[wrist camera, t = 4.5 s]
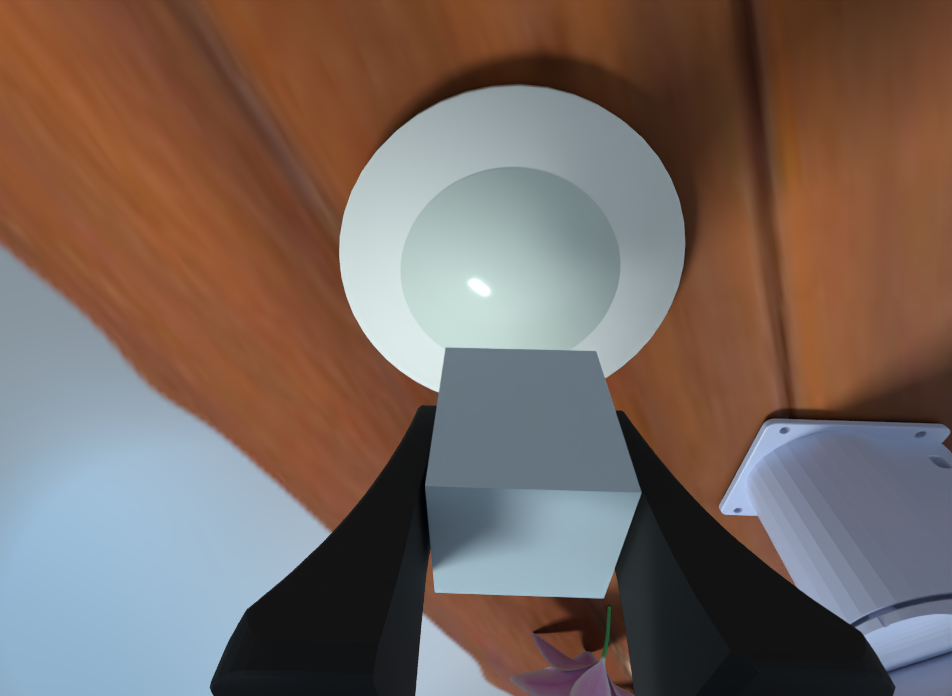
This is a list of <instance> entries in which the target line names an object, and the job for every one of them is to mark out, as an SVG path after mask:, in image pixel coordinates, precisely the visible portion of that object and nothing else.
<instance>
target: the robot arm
mask: <svg viewBox="0 0 952 696" xmlns="http://www.w3.org/2000/svg"><path fill="white" fill-rule="evenodd" d="M436 408H437V406H424V405H422V406H420V407H419V408H418V410H417V412H416V414H415V417H414V419H413V421H412V423H411V425H410V427H409V428H408V430H407V432H406V434H405V436H404V437H403V439H402V441H401V443H400V444H399V446H398V447H397V449H396V451H395V452H394V454H393V455H392V457H391V459H390V460H389V462H388V463H387V465H386V466H385V468H384V469H383V471H382V472H381V473H380V475H379V476H378V478H377V479H376V480H375V482H374V483H373V485H372V486H371V487H370V489H369V490H368V491H367V493H366V494H365V495H364V496H363V498H362V499H361V500H360V501H359V503H358V504H357V505H356V506H355V507H354V509H353V510H352V511H351V512H350V513H349V515H348V516H347V517H346V518H345V519H344V520H343V521H342V522H341V523H340V524H339V526H338V527H337V528H336V529H335V530H334V531H333V532H332V533H331V534H330V535H329V536H328V538H326V540H325V541H324V542H323V543H322V544H321V545H320V546H319V547H318V548H316V550H314V551H313V552H312V553H311V554H310V555H309V556H308V557H307V558H306V559H305V560H304V561H303V562H302V563H301V564H300V565H299V566H297V568H295V569H294V570H293V571H292V572H291V573H290V574H289V575H288V576H287V577H285V578H284V579H283V580H282V581H281V582H280V583H278V584H277V585H276V586H275V587H274V588H272V589H271V590H270V591H269V592H267V593H266V594H265V595H264V596H263V597H261V598H260V599H259V600H258V601H257V602H256V603H254V604H253V605H252V606H251V607H249V608H248V609H247V610H246V612H245V613H244V615H243V617H242V618H241V620H240V622H239V623H238V625H237V627H236V629H235V631H234V633H233V635H232V636H231V638H230V640H229V642H228V644H227V646H226V648H225V650H224V653H223V655H222V657H221V660H220V662H219V664H218V667H217V670H216V672H215V674H214V676H213V679H212V681H211V685H210V689H211V692H212V694H213V695H214V696H415V691H416V680H417V667H418V657H419V644H420V634H421V622H422V613H423V602H424V592H425V582H426V573H427V566H428V560H429V554H430V549H431V545H430V535H429V524H428V513H427V503H426V492H425V483H426V476H427V469H428V462H429V456H430V449H431V442H432V435H433V429H434V422H435V415H436ZM616 414H617V417H618V421H619V424H620V427H621V430H622V433H623V436H624V439H625V442H626V446H627V449H628V452H629V455H630V458H631V461H632V464H633V467H634V471H635V474H636V477H637V480H638V483H639V486H640V489H641V492H642V493H641V496H640V499H639V501H638V504H637V507H636V510H635V513H634V515H633V518H632V521H631V524H630V527H629V529H628V532H627V535H626V538H625V541H624V543H623V546H622V549H621V552H620V555H619V557H618V560H617V563H616V566H615V572H616V576H617V581H618V586H619V592H620V598H621V604H622V610H623V616H624V623H625V629H626V636H627V643H628V649H629V656H630V664H631V671H632V679H633V686H634V694H635V696H952V452H951V451H949V450H948V449H947V448H946V447H945V446H944V445H943V444H942V443H943V441H944V440H945V439H946V438H947V437H948V436H949V434H950V430H949V429H948V428H947V427H946V426H945V425H944V424H930V423H899V422H867V421H835V420H804V419H770V420H767V421H766V422H765V423H764V424H763V425H762V427H761V429H760V430H759V432H758V434H757V436H756V438H755V440H754V442H753V443H752V445H751V447H750V449H749V451H748V453H747V455H746V456H745V458H744V460H743V462H742V464H741V466H740V468H739V469H738V471H737V473H736V475H735V477H734V479H733V481H732V482H731V484H730V486H729V488H728V490H727V492H726V494H725V495H724V497H723V499H722V501H721V503H720V505H719V508H720V510H721V512H722V513H723V514H727V515H751V516H758V517H759V519H760V520H761V522H762V524H763V526H764V528H765V530H766V531H767V533H768V535H769V537H770V539H771V541H772V542H773V544H774V546H775V548H776V550H777V552H778V554H779V555H780V557H781V559H782V561H783V563H784V565H785V566H786V568H787V570H788V572H789V574H790V576H791V577H792V579H793V581H794V583H795V585H796V587H795V586H794V585H793V584H791V583H790V582H789V581H787V580H786V579H785V578H783V577H782V576H781V575H779V574H778V573H777V572H776V571H774V570H773V569H772V568H770V567H769V566H768V565H767V564H765V563H764V562H763V561H762V560H761V559H759V558H758V557H757V556H756V555H755V554H753V553H752V552H751V551H750V550H749V549H747V548H746V547H745V546H744V545H743V544H741V543H740V542H739V541H738V540H737V539H736V538H734V537H733V536H732V535H731V534H730V533H729V532H728V531H727V530H725V529H724V528H723V527H722V526H721V525H720V524H719V523H718V522H717V521H716V520H715V519H714V518H713V517H712V516H711V515H710V514H709V513H708V512H707V511H706V510H705V509H704V508H703V507H702V506H701V505H700V504H699V503H698V502H697V501H696V500H695V499H694V498H693V497H692V496H691V495H690V494H689V492H688V491H687V490H686V489H685V488H684V487H683V486H682V485H681V484H680V483H679V481H678V480H677V479H676V478H675V477H674V476H673V475H672V473H671V472H670V471H669V470H668V469H667V467H666V466H665V465H664V464H663V463H662V461H661V460H660V459H659V458H658V457H657V455H656V454H655V453H654V451H653V450H652V449H651V448H650V446H649V445H648V444H647V443H646V441H645V440H644V439H643V437H642V436H641V435H640V433H639V432H638V431H637V429H636V428H635V427H634V425H633V424H632V423H631V421H630V420H629V419H628V417H627V416H626V414H625V413H624V412H623V411H616Z"/></svg>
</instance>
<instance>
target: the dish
mask: <svg viewBox="0 0 952 696" xmlns="http://www.w3.org/2000/svg"><path fill="white" fill-rule="evenodd" d="M684 254H685V229H684V219H683V215H682V210H681V205H680V201H679V198H678V195H677V193H676V190H675V187H674V185H673V182H672V180H671V177H670V176H669V174H668V172H667V171H666V169H665V167H664V165H663V164H662V162H661V160H660V159H659V157H658V156H657V155H656V153H655V152H654V151H653V150H652V149H651V147H650V146H649V145H648V144H647V143H646V141H645V140H644V139H643V138H642V137H641V136H640V135H639V134H638V133H636V132H635V131H634V130H633V129H632V128H631V127H630V126H628V125H627V124H626V123H625V122H624V121H623V120H621V119H620V118H618V117H617V116H615V115H614V114H612V113H611V112H609V111H607V110H606V109H604V108H603V107H601V106H599V105H598V104H596V103H594V102H592V101H590V100H587V99H585V98H583V97H580V96H578V95H576V94H573V93H570V92H566V91H563V90H559V89H555V88H551V87H547V86H537V85H527V84H508V85H492V86H487V87H482V88H478V89H473V90H468V91H465V92H462V93H459V94H457V95H454V96H451V97H449V98H446V99H443V100H441V101H439V102H437V103H436V104H434V105H432V106H430V107H428V108H427V109H425V110H423V111H421V112H419V113H418V114H417V115H415V116H414V117H413V118H411V119H410V120H409V121H407V122H406V123H405V124H404V125H402V126H401V127H400V128H399V129H398V130H397V131H396V132H395V133H394V134H393V135H392V136H391V137H390V138H389V139H388V140H387V141H386V142H385V143H384V144H383V145H382V146H381V147H380V148H379V149H378V150H377V151H376V153H375V154H374V155H373V157H372V158H371V160H370V161H369V162H368V164H367V165H366V166H365V168H364V169H363V171H362V172H361V174H360V176H359V178H358V180H357V182H356V184H355V186H354V188H353V190H352V192H351V194H350V197H349V200H348V203H347V206H346V209H345V212H344V216H343V222H342V227H341V233H340V251H339V258H340V267H341V277H342V281H343V285H344V289H345V293H346V296H347V299H348V301H349V304H350V307H351V309H352V312H353V314H354V316H355V318H356V319H357V321H358V323H359V325H360V327H361V328H362V330H363V332H364V333H365V334H366V336H367V337H368V338H369V340H370V341H371V343H372V344H373V345H374V346H375V347H376V349H377V350H378V351H379V352H380V353H381V354H382V355H383V356H384V357H385V358H386V359H387V360H388V361H389V362H390V363H392V364H393V365H394V366H395V367H396V368H398V369H399V370H400V371H401V372H403V373H404V374H406V375H407V376H409V377H410V378H412V379H413V380H415V381H416V382H418V383H420V384H422V385H424V386H426V387H428V388H430V389H432V390H434V391H437V392H439V388H440V381H441V375H442V368H443V361H444V354H445V348H446V347H450V348H492V349H534V350H576V351H596V352H597V355H598V358H599V361H600V364H601V368H602V371H603V374H604V377H605V378H606V377H608V376H609V375H611V374H612V373H614V372H615V371H616V370H618V369H619V368H621V367H622V366H623V365H624V364H626V363H627V362H628V361H629V360H630V359H631V358H632V357H634V356H635V355H636V354H637V353H638V352H639V351H640V350H641V348H642V347H643V346H644V345H645V344H646V343H647V342H648V341H649V340H650V338H651V337H652V336H653V334H654V333H655V331H656V330H657V329H658V327H659V326H660V324H661V323H662V321H663V319H664V318H665V316H666V314H667V312H668V310H669V308H670V306H671V304H672V302H673V299H674V297H675V294H676V291H677V289H678V286H679V282H680V278H681V274H682V269H683V265H684Z"/></svg>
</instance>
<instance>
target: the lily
mask: <svg viewBox="0 0 952 696" xmlns="http://www.w3.org/2000/svg"><path fill="white" fill-rule="evenodd" d="M610 621H611V607H610V606H607V625H606V637H605V643H604V649H603V653H602V656H601V659H600V661H597V659H596V658H595V656H594V655H593V654H592V652H589V651H585V652H582V653H580V654H578V655H577V656H575V657H574V658H572V659H571V658H570V657H568V656H566V655H565V654H563V653H562V652H560V651H559V650H558V649H556V648H555V647H553V646H552V645H550V644H549V643H548V642H546V641H545V640H544V639H542V638H541V637H539V636H538V635H537V634H535V633H532V636H533V639H534V641H535V643H536V645H537V647H538V649H539V651H540V652H541V654H542V656H543V657H544V658H545V660H546V661H547V662H548V663H549V664H550V665H551V666H552V667H547V668H543V669H539V670H536V671H532V672H525V673H518V674H513V675H510V677H509V679H510V680H511V681H512V683H514V684H515V685H516V686H517V687H519V688H520V689H521V690H523V691H524V692H526V693H528V694H529V695H531V696H635V695H634V694H632V693H630V692H628V691H626V690H624V689H622V688H620V687H618V686H616V685H615V684H613V683H612V681H611V679H610V677H609V676H608V673H607V671H606V668H605V658H606V654H607V649H608V643H609V635H610Z"/></svg>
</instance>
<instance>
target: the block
mask: <svg viewBox="0 0 952 696" xmlns="http://www.w3.org/2000/svg"><path fill="white" fill-rule="evenodd" d="M425 492H426V503H427V513H428V524H429V535H430V545H431V556H432V567H433V578H434V588H435V593H463V594H491V595H520V596H548V597H577V598H604V596H605V594H606V591H607V588H608V585H609V582H610V580H611V577H612V574H613V571H614V569H615V566H616V563H617V560H618V557H619V555H620V552H621V549H622V546H623V543H624V541H625V538H626V535H627V532H628V529H629V527H630V524H631V521H632V518H633V515H634V513H635V510H636V507H637V504H638V501H639V499H640V496H641V493H642V492H641V489H640V486H639V483H638V480H637V477H636V474H635V471H634V467H633V464H632V461H631V458H630V455H629V452H628V449H627V446H626V442H625V439H624V436H623V433H622V430H621V427H620V424H619V421H618V417H617V414H616V411H615V408H614V405H613V402H612V399H611V396H610V393H609V389H608V386H607V383H606V380H605V377H604V374H603V371H602V368H601V364H600V361H599V358H598V355H597V352H596V351H576V350H534V349H492V348H450V347H446V348H445V354H444V361H443V368H442V375H441V381H440V388H439V395H438V402H437V408H436V415H435V422H434V429H433V435H432V442H431V449H430V456H429V462H428V469H427V476H426V483H425Z"/></svg>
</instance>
